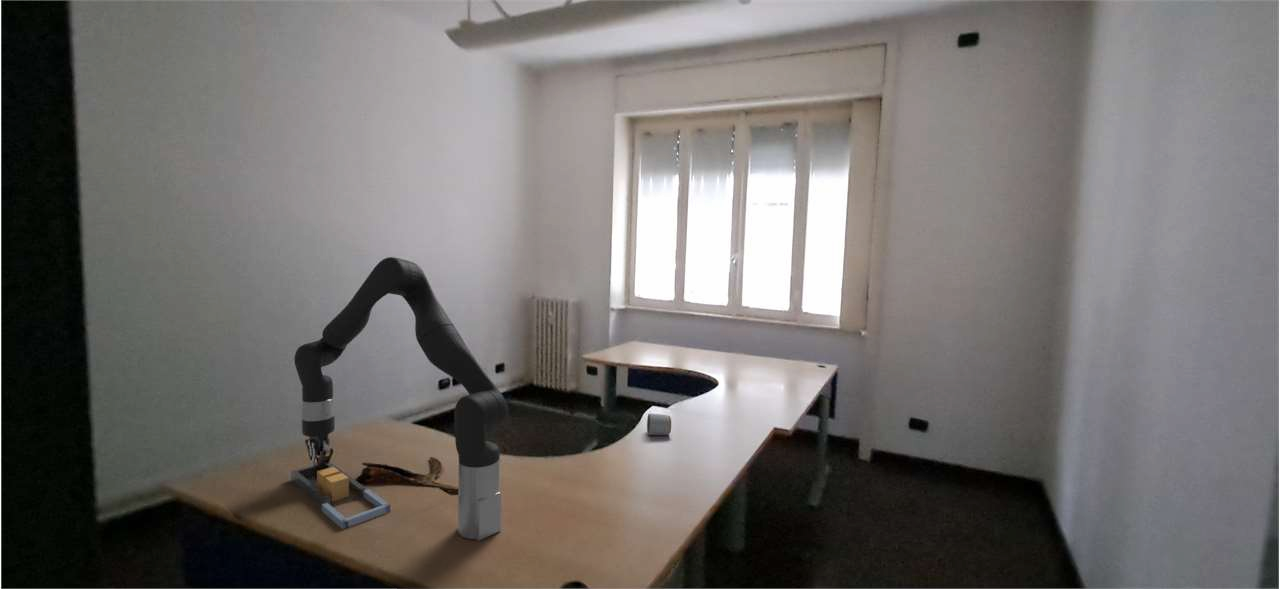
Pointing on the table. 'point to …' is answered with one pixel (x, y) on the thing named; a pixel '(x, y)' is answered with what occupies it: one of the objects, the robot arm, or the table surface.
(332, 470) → the tan cardboard cube
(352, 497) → the rail
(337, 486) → the cardboard box
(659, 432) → the grey cylinder
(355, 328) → the robot arm
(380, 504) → the tray
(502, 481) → the table surface
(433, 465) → the dark wooden branch
